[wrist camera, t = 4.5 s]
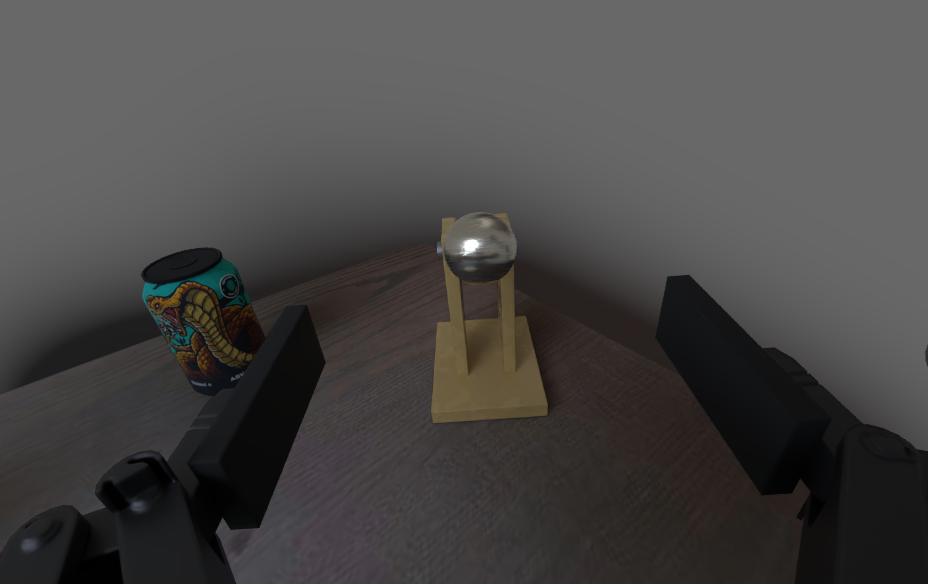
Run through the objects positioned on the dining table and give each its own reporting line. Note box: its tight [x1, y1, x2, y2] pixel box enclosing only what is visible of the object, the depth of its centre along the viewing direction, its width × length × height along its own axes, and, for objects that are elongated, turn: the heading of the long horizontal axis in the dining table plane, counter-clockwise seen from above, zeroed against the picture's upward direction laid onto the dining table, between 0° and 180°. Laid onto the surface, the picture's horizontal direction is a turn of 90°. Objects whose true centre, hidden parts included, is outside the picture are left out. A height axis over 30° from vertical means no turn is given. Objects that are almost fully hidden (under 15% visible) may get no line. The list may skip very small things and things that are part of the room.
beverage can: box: [141, 248, 266, 396], centre depth 37 cm, size 7×7×12 cm
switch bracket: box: [431, 213, 548, 423], centre depth 34 cm, size 12×9×14 cm
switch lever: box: [444, 212, 517, 285], centre depth 26 cm, size 14×4×4 cm, turn 1°
